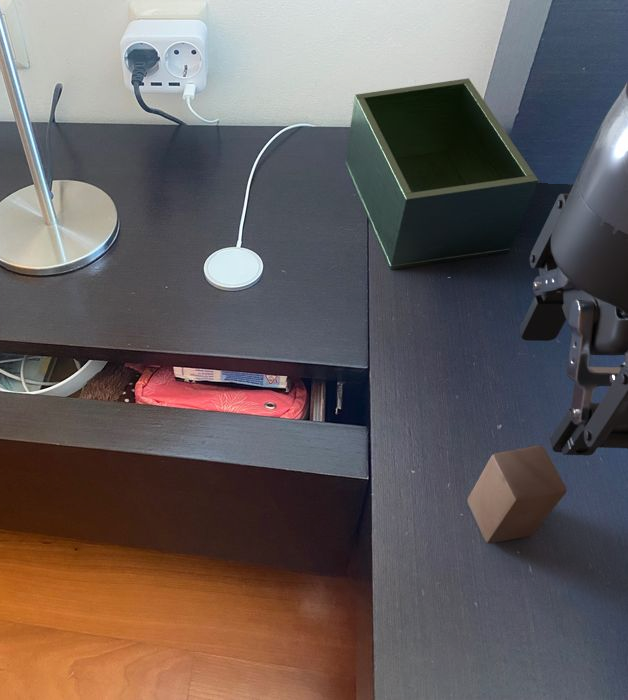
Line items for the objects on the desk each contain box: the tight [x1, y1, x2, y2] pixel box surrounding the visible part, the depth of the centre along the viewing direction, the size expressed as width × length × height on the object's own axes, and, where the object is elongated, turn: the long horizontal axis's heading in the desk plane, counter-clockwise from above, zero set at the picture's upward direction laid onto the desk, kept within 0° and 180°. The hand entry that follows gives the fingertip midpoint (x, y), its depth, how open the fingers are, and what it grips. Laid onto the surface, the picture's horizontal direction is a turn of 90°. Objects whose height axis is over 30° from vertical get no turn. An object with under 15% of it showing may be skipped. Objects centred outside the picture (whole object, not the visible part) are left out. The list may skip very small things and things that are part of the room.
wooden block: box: [467, 445, 567, 544], centre depth 55 cm, size 4×4×8 cm
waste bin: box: [344, 78, 539, 271], centre depth 77 cm, size 18×13×10 cm
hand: (551, 388), depth 46 cm, fingers open, 8 cm apart
